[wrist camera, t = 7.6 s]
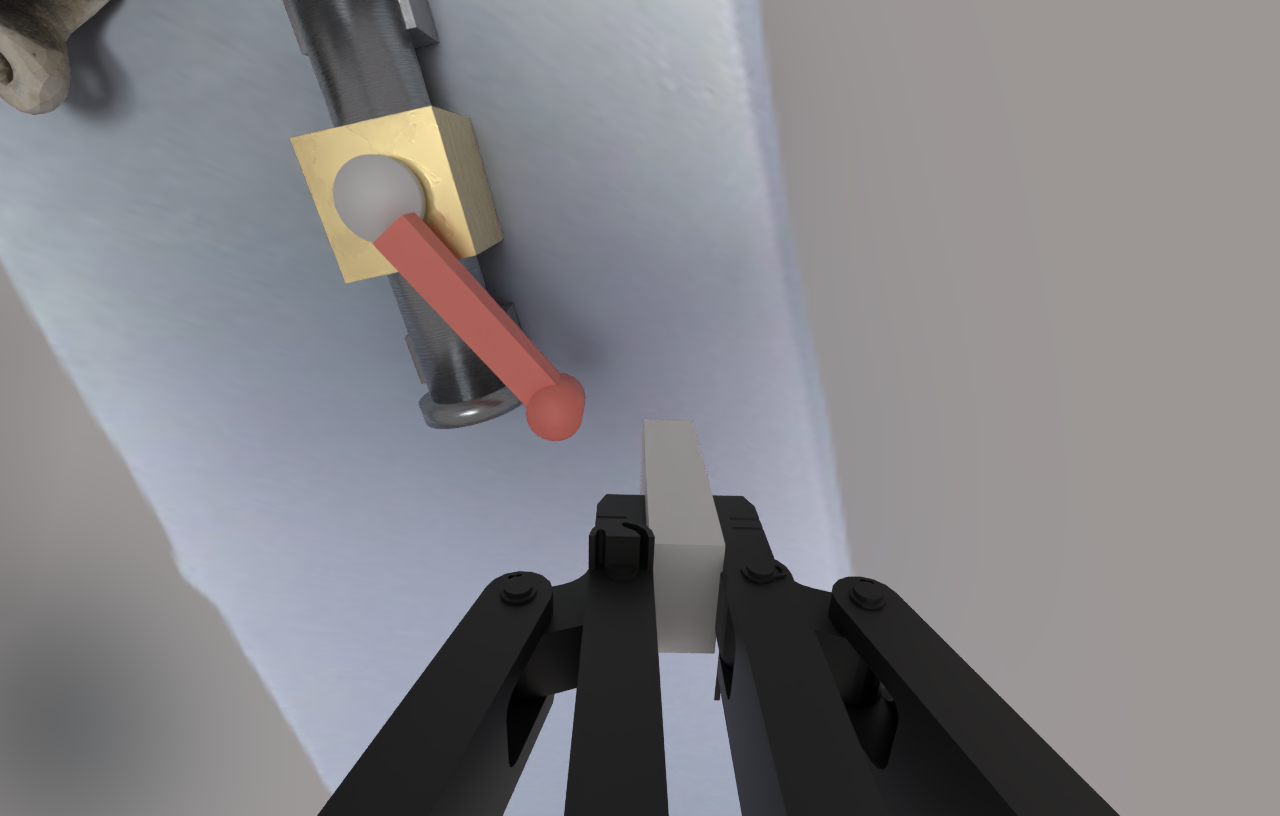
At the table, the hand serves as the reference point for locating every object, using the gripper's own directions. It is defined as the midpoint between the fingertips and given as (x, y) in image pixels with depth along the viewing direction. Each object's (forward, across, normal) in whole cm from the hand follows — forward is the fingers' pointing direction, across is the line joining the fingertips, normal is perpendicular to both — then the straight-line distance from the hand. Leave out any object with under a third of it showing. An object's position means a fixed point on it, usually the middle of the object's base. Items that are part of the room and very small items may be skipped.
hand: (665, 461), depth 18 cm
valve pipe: (+23, -13, +7) cm, 27 cm away
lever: (+15, -9, +2) cm, 18 cm away
